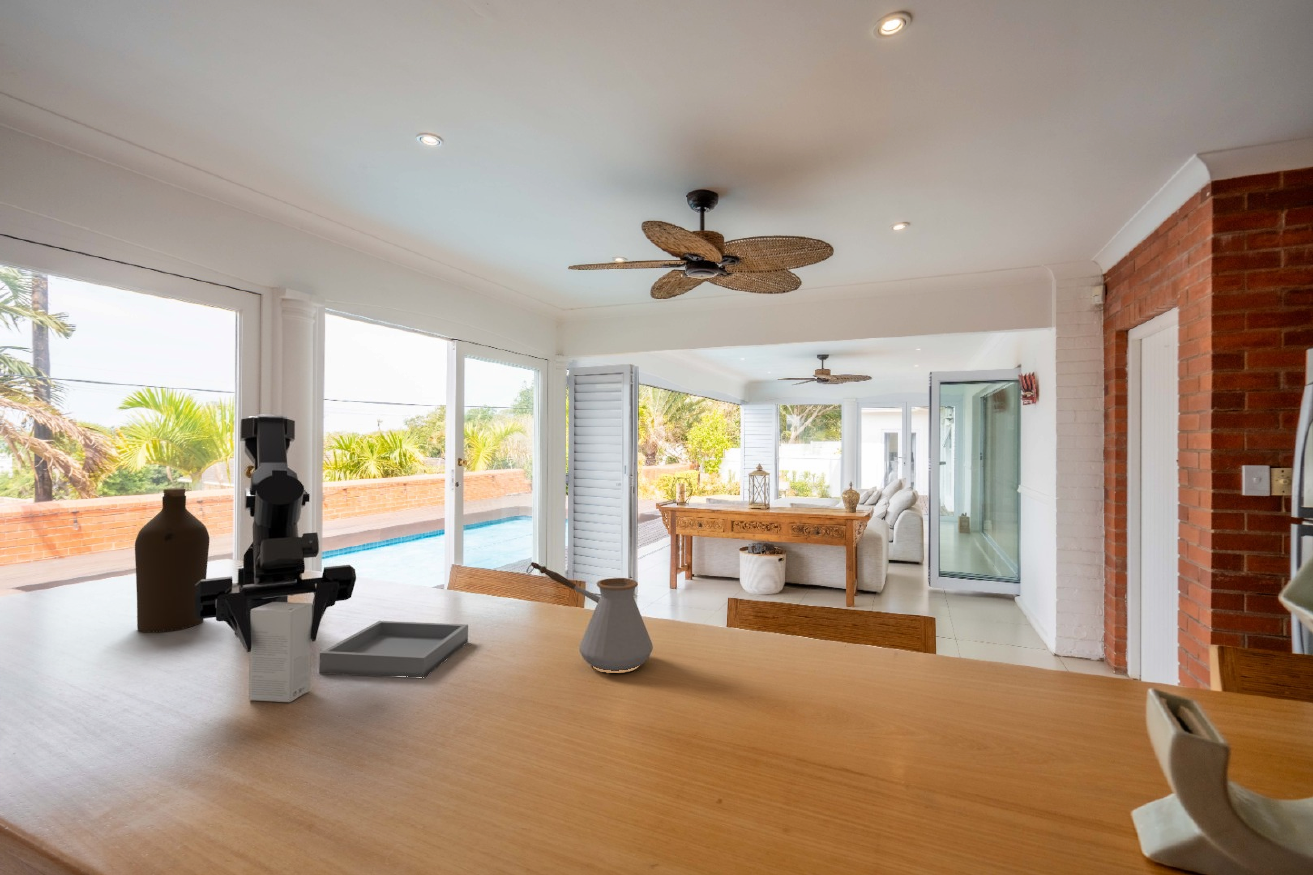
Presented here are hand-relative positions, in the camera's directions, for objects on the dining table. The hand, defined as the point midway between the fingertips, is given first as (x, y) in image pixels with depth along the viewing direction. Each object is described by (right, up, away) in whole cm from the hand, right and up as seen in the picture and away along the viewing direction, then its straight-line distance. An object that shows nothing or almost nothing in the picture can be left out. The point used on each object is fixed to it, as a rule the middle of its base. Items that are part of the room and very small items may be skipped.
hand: (282, 644), depth 78 cm
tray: (+8, -7, +16) cm, 20 cm away
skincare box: (-1, -7, +1) cm, 7 cm away
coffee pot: (+38, -8, +16) cm, 42 cm away
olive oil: (-40, -7, +30) cm, 50 cm away
